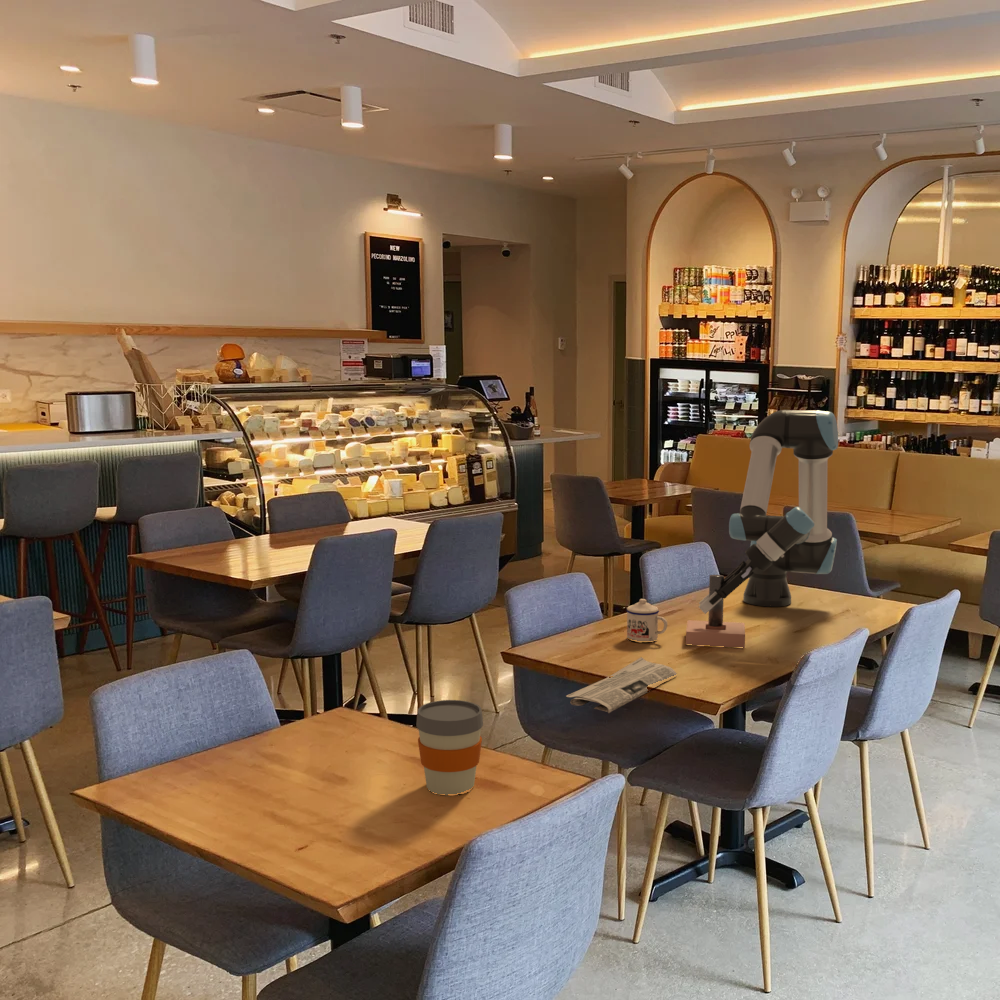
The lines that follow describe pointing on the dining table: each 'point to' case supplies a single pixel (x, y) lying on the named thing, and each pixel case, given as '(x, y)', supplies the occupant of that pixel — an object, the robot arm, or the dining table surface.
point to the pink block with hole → (715, 634)
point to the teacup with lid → (643, 621)
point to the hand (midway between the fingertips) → (702, 608)
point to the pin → (717, 610)
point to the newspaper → (622, 685)
